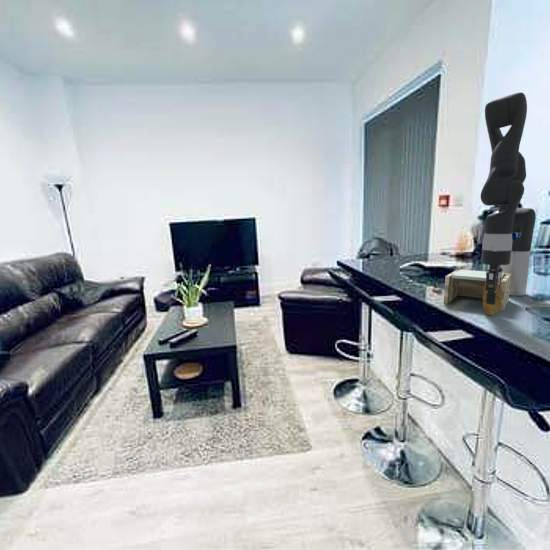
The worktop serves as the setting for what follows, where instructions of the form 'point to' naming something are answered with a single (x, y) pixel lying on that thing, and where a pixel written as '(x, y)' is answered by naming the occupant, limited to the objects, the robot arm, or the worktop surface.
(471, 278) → the trapdoor
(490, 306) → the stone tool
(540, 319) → the worktop surface
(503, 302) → the trapdoor frame
